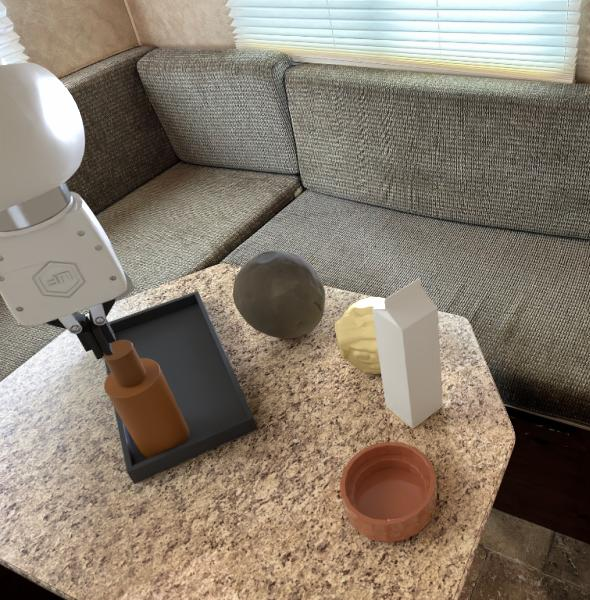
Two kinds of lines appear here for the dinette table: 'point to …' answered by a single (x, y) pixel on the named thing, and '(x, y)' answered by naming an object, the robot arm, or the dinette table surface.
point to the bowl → (389, 491)
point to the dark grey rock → (279, 294)
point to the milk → (409, 353)
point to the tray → (185, 381)
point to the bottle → (144, 401)
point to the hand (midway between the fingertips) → (103, 349)
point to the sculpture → (359, 336)
